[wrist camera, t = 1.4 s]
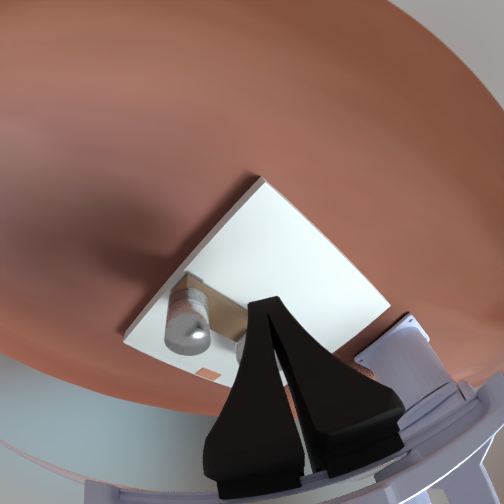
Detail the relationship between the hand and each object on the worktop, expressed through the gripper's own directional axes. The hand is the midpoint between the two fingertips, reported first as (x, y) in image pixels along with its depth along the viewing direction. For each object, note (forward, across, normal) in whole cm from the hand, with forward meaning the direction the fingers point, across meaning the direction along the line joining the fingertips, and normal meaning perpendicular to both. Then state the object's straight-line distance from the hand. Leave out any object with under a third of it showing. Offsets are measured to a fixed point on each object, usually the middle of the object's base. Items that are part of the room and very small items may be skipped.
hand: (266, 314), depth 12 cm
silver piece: (+5, +2, +5) cm, 7 cm away
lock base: (+6, 0, +7) cm, 10 cm away
